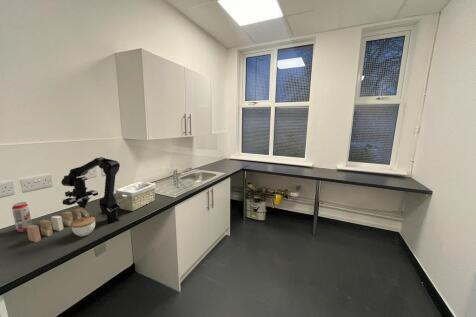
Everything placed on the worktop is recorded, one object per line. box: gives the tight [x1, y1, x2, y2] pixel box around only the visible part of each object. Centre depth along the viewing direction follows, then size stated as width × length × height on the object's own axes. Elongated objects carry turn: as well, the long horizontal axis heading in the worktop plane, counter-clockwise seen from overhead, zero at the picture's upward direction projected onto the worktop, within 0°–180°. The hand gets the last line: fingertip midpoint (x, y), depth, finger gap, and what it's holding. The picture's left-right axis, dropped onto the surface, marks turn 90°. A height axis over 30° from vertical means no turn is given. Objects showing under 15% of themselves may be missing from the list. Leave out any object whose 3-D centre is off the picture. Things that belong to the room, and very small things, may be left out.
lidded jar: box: [70, 216, 96, 237], centre depth 110 cm, size 11×11×9 cm
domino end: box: [26, 224, 42, 243], centre depth 103 cm, size 2×5×8 cm, turn 76°
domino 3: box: [61, 210, 73, 227], centre depth 119 cm, size 2×5×8 cm, turn 76°
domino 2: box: [50, 214, 64, 232], centre depth 114 cm, size 2×5×8 cm, turn 76°
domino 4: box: [69, 207, 83, 221], centre depth 124 cm, size 2×5×8 cm, turn 76°
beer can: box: [11, 201, 33, 233], centre depth 112 cm, size 6×6×16 cm
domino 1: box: [39, 219, 54, 237], centre depth 108 cm, size 2×5×8 cm, turn 76°
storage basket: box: [115, 181, 156, 212], centre depth 149 cm, size 24×16×15 cm
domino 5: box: [75, 206, 91, 218], centre depth 127 cm, size 2×5×8 cm
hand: (83, 209), depth 128 cm, fingers closed
